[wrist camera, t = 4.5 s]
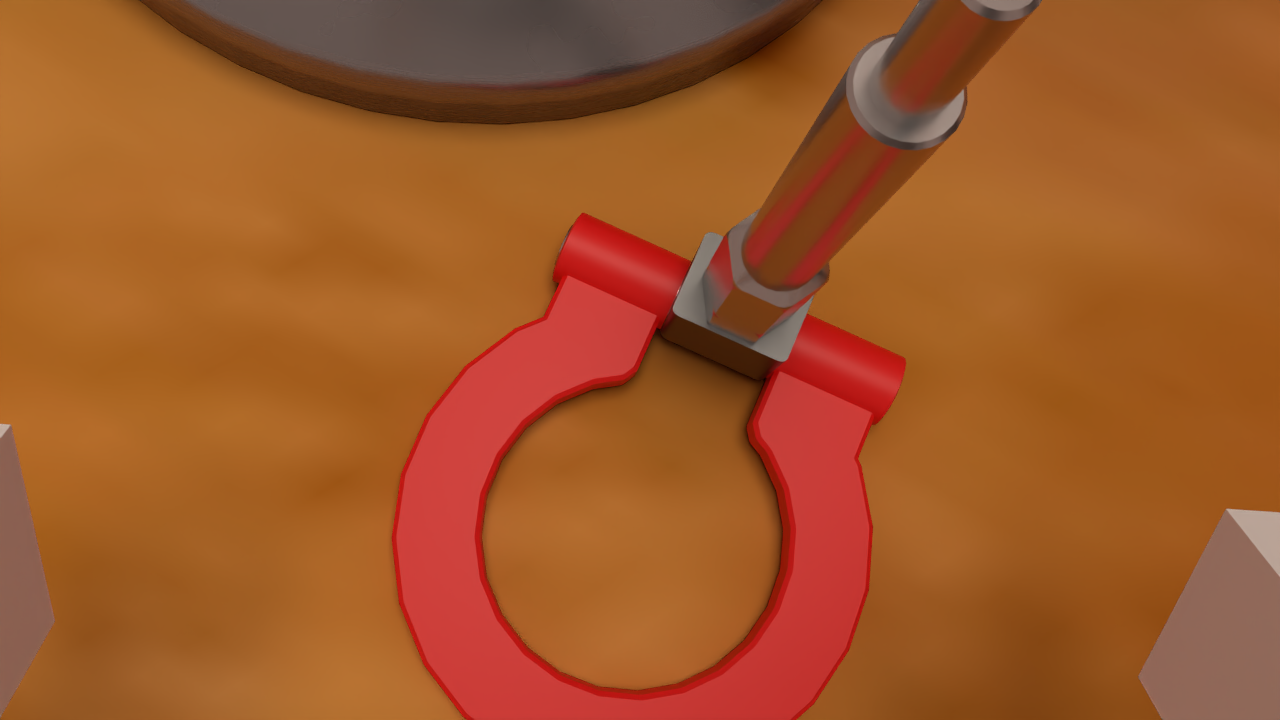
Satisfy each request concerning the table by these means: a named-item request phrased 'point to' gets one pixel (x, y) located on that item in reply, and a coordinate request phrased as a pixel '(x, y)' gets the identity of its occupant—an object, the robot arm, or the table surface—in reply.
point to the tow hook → (733, 336)
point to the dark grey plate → (485, 50)
